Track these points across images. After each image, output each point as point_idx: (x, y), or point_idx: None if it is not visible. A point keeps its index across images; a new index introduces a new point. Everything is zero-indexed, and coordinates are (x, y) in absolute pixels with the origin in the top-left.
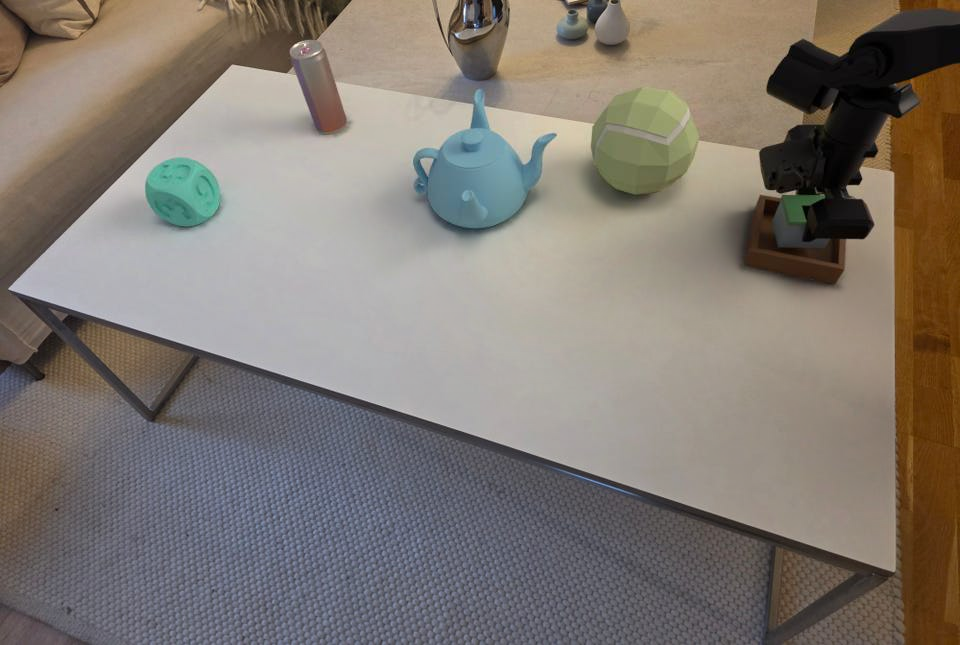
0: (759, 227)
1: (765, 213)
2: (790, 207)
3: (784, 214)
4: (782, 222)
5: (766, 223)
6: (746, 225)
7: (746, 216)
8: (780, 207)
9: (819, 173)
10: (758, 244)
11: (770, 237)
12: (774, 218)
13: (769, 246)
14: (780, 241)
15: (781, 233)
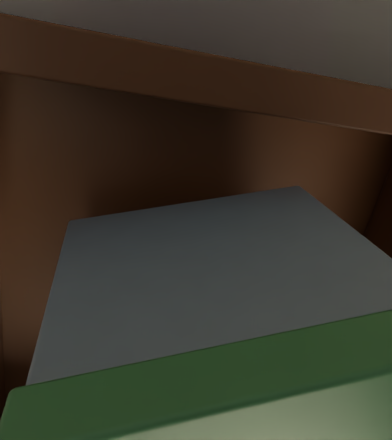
0: (208, 95)
1: (389, 153)
2: (288, 433)
3: (230, 332)
4: (180, 286)
5: (318, 156)
6: (319, 47)
7: (386, 52)
8: (355, 278)
9: None
10: (149, 105)
11: (215, 174)
12: (300, 205)
13: (143, 167)
14: (68, 244)
15: (104, 261)
